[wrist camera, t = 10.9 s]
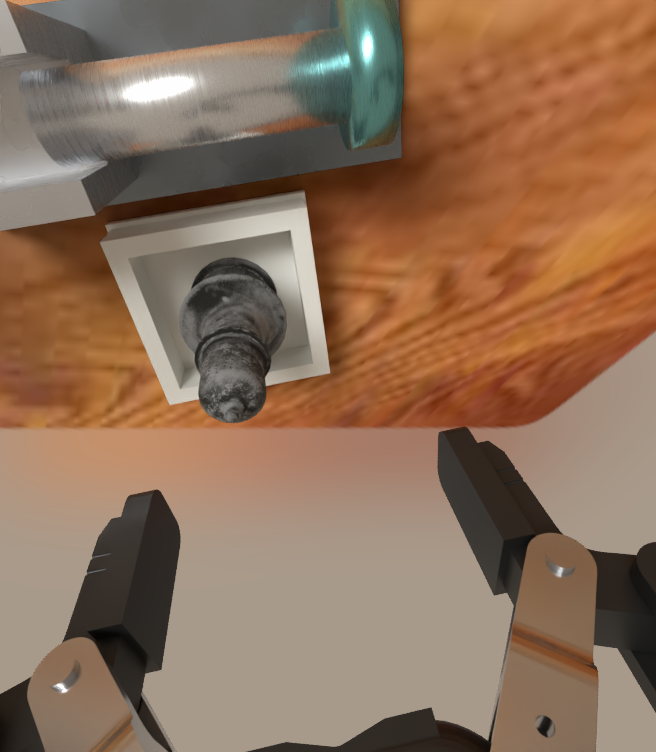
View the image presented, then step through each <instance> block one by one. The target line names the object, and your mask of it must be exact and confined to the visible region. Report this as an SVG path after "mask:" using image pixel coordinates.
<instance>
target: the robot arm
mask: <svg viewBox="0 0 656 752" xmlns="http://www.w3.org/2000/svg"><path fill="white" fill-rule="evenodd" d="M438 474H439V479H440V482H441V485H442V488H443V490H444V492H445V494H446V496H447V499H448V501H449V503H450V505H451V507H452V509H453V511H454V513H455V515H456V517H457V519H458V521H459V524H460V526H461V528H462V530H463V532H464V534H465V536H466V538H467V540H468V542H469V544H470V546H471V549H472V551H473V553H474V555H475V557H476V559H477V561H478V563H479V565H480V567H481V569H482V571H483V573H484V575H485V577H486V580H487V582H488V584H489V586H490V588H491V590H492V592H493V594H494V595H498V594H503V593H508V595H509V597H510V599H511V601H512V603H513V605H514V608H513V612H512V618H511V623H510V629H509V634H508V639H507V644H506V649H505V654H504V660H503V665H502V671H501V675H500V680H499V685H498V691H497V695H496V700H495V705H494V710H493V715H492V720H491V725H490V731H489V736H488V741H487V740H486V739H484V738H483V737H482V736H480V735H478V734H476V733H475V732H473V731H471V730H469V729H467V728H465V727H462V726H460V725H457V724H453V723H450V722H446V721H439V720H435V718H434V715H433V711H432V708H427V709H423V710H419V711H414V712H410V713H406V714H402V715H398V716H394V717H390V718H385V719H383V720H382V721H380V722H378V723H377V724H375V725H374V726H372V727H370V728H369V729H367V730H365V731H364V732H362V733H361V734H359V735H357V736H356V737H354V738H352V739H351V740H349V741H348V742H346V743H344V744H343V745H341V746H337V747H329V746H319V745H309V744H299V743H298V744H297V743H289V742H285V743H281V744H277V745H273V746H269V747H264V748H260V749H256V750H252V751H248V752H596V735H597V710H598V670H597V667H596V666H595V665H594V663H593V646H594V645H599V646H605V647H612V648H618V650H619V652H620V653H621V655H622V657H623V658H624V660H625V662H626V663H627V665H628V667H629V668H630V670H631V672H632V674H633V675H634V677H635V679H636V680H637V682H638V684H639V685H640V687H641V689H642V690H643V692H644V694H645V695H646V697H647V699H648V700H649V702H650V704H651V705H652V707H653V709H654V711H655V712H656V542H653V543H649V544H646V545H644V546H643V547H642V548H640V550H639V552H638V553H637V555H629V554H618V553H607V552H598V551H594V550H589V549H587V548H585V547H584V546H583V545H582V544H580V543H579V542H577V541H576V540H574V539H572V538H570V537H568V536H565V535H563V534H562V533H561V532H560V531H559V529H558V528H557V527H556V525H555V524H554V523H553V521H552V520H551V518H550V517H549V516H548V514H547V513H546V511H545V510H544V508H543V507H542V505H541V504H540V503H539V501H538V500H537V498H536V497H535V495H534V494H533V493H532V491H531V490H530V488H529V487H528V485H527V484H526V483H525V482H524V481H523V478H522V477H521V475H520V474H519V473H518V471H517V470H515V467H514V465H513V464H512V463H511V461H510V460H509V458H508V457H507V455H506V454H505V452H503V451H502V450H501V449H499V448H498V447H496V446H495V445H493V444H492V443H490V442H489V441H485V442H480V443H477V442H476V440H475V439H474V437H473V435H472V434H471V432H470V431H469V429H468V428H467V427H460V428H456V429H451V430H446V431H441V432H439V435H438ZM179 549H180V530H179V526H178V523H177V521H176V519H175V517H174V515H173V513H172V512H171V510H170V508H169V506H168V504H167V502H166V500H165V499H164V497H163V495H162V493H161V492H160V491H159V490H153V491H148V492H143V493H138V494H134V495H130V496H128V498H127V500H126V502H125V506H124V509H123V512H122V516H121V517H118V518H113V519H111V520H110V522H109V523H108V525H107V526H106V527H105V529H104V530H103V531H102V533H101V534H100V535H99V537H98V540H97V543H96V546H95V549H94V552H93V555H92V560H91V561H90V564H89V566H88V569H87V575H86V576H85V578H84V581H83V584H82V587H81V590H80V593H79V596H78V599H77V603H76V605H75V608H74V611H73V614H72V617H71V620H70V624H69V626H68V629H67V632H66V635H65V637H64V640H63V642H62V643H61V644H60V645H58V646H57V647H55V648H54V649H53V650H52V651H50V652H49V653H48V654H47V655H46V656H45V658H43V660H42V661H41V662H40V664H39V665H38V666H37V668H36V669H35V671H34V673H33V675H32V677H30V678H28V679H27V680H25V681H23V682H22V683H20V684H18V685H16V686H14V687H13V688H11V689H9V690H7V691H5V692H4V693H2V694H0V752H177V751H176V750H175V748H174V746H173V744H172V743H171V741H170V739H169V737H168V736H167V734H166V732H165V731H164V728H163V727H162V725H161V723H160V721H159V720H158V718H157V716H156V714H155V713H154V711H153V709H152V707H151V705H150V704H149V702H148V700H147V698H146V697H145V695H144V693H143V692H142V688H143V682H144V677H145V673H149V672H154V671H158V670H161V668H162V662H163V655H164V648H165V641H166V635H167V629H168V622H169V615H170V608H171V602H172V595H173V589H174V582H175V575H176V569H177V562H178V556H179Z"/></svg>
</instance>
